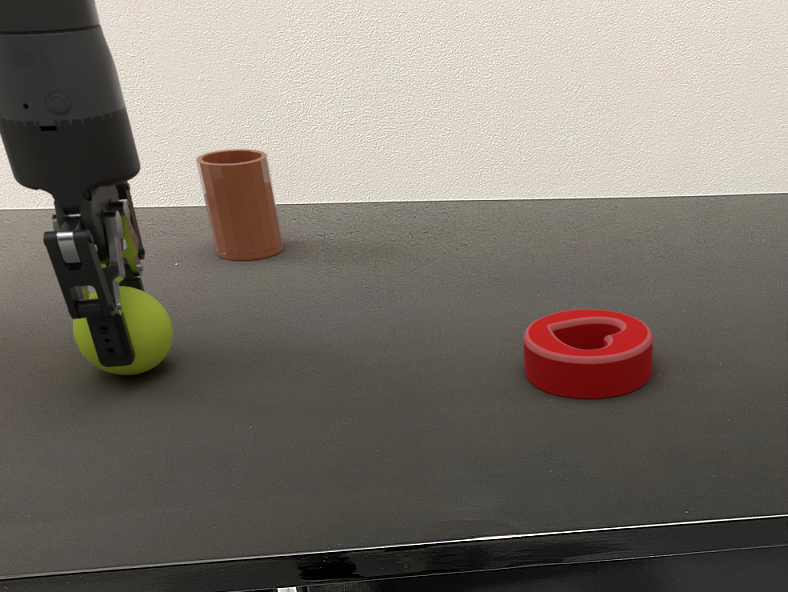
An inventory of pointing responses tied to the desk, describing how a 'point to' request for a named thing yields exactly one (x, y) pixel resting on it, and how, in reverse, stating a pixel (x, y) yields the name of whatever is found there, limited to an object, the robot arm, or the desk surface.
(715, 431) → the desk surface
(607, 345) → the decorative ornament
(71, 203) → the robot arm
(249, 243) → the cup
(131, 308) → the ball
